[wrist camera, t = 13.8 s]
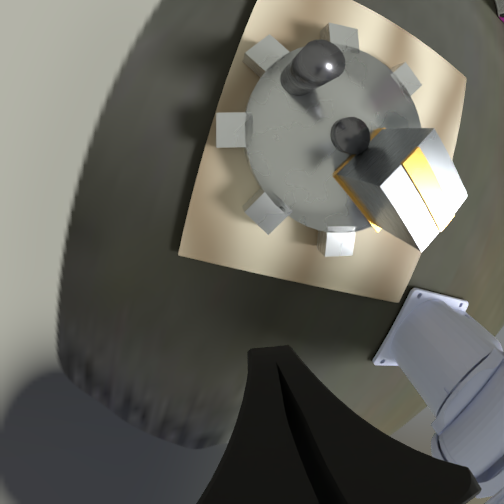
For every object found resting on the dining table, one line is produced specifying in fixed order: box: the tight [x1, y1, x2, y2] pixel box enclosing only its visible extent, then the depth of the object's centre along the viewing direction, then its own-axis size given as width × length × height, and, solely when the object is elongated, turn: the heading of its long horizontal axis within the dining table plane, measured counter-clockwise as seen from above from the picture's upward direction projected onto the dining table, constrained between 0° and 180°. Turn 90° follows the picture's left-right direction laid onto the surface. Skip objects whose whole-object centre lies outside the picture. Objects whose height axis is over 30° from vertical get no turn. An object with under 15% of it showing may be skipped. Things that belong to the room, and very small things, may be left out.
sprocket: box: [216, 23, 422, 257], centre depth 13 cm, size 14×14×6 cm
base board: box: [178, 0, 466, 303], centre depth 16 cm, size 17×20×1 cm
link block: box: [336, 128, 468, 252], centre depth 12 cm, size 4×4×5 cm
